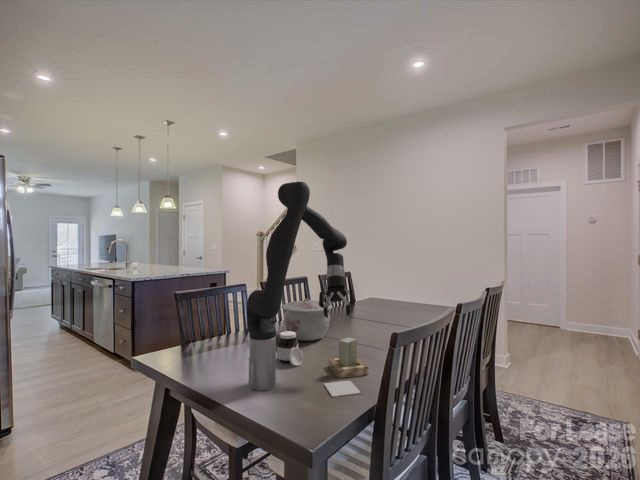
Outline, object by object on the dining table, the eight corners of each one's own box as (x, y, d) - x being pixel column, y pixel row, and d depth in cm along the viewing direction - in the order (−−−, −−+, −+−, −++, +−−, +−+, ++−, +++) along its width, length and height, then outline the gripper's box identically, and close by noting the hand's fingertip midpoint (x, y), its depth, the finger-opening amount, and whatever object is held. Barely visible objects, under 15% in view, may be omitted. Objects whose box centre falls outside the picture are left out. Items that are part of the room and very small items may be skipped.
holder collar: (338, 377, 123) (338, 369, 123) (329, 366, 134) (329, 358, 134) (368, 374, 126) (368, 366, 126) (356, 363, 138) (356, 356, 138)
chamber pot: (323, 348, 157) (323, 304, 158) (271, 342, 166) (271, 301, 166) (339, 332, 184) (339, 295, 184) (293, 328, 193) (293, 293, 193)
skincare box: (348, 366, 134) (349, 336, 134) (357, 369, 131) (357, 339, 131) (338, 370, 130) (338, 339, 130) (347, 374, 127) (347, 342, 127)
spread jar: (284, 355, 147) (284, 329, 147) (308, 358, 143) (308, 331, 143) (272, 365, 135) (272, 337, 135) (298, 368, 132) (298, 339, 132)
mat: (332, 397, 108) (332, 396, 108) (323, 384, 117) (323, 383, 117) (360, 393, 110) (360, 392, 110) (350, 381, 120) (350, 380, 120)
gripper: (316, 276, 136) (317, 315, 129) (351, 272, 133) (353, 312, 125) (321, 282, 142) (322, 320, 135) (354, 279, 139) (356, 317, 132)
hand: (337, 316), depth 130 cm, fingers open, 8 cm apart
